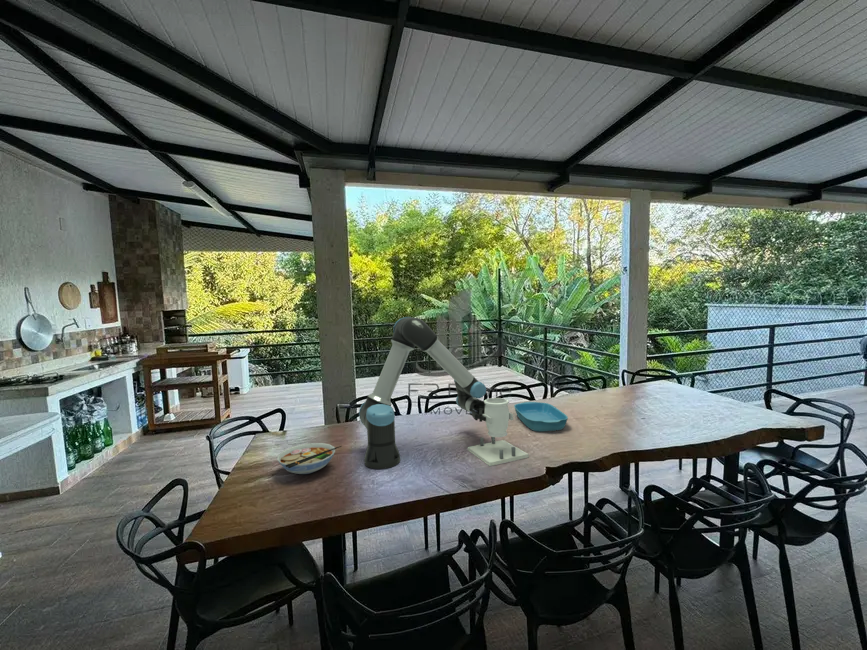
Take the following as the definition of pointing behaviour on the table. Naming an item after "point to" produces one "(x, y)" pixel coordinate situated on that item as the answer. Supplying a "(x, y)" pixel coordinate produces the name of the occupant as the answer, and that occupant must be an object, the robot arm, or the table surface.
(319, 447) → the ramen bowl
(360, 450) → the table surface
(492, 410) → the jar
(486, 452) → the tray
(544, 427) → the casserole dish
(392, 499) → the table surface
